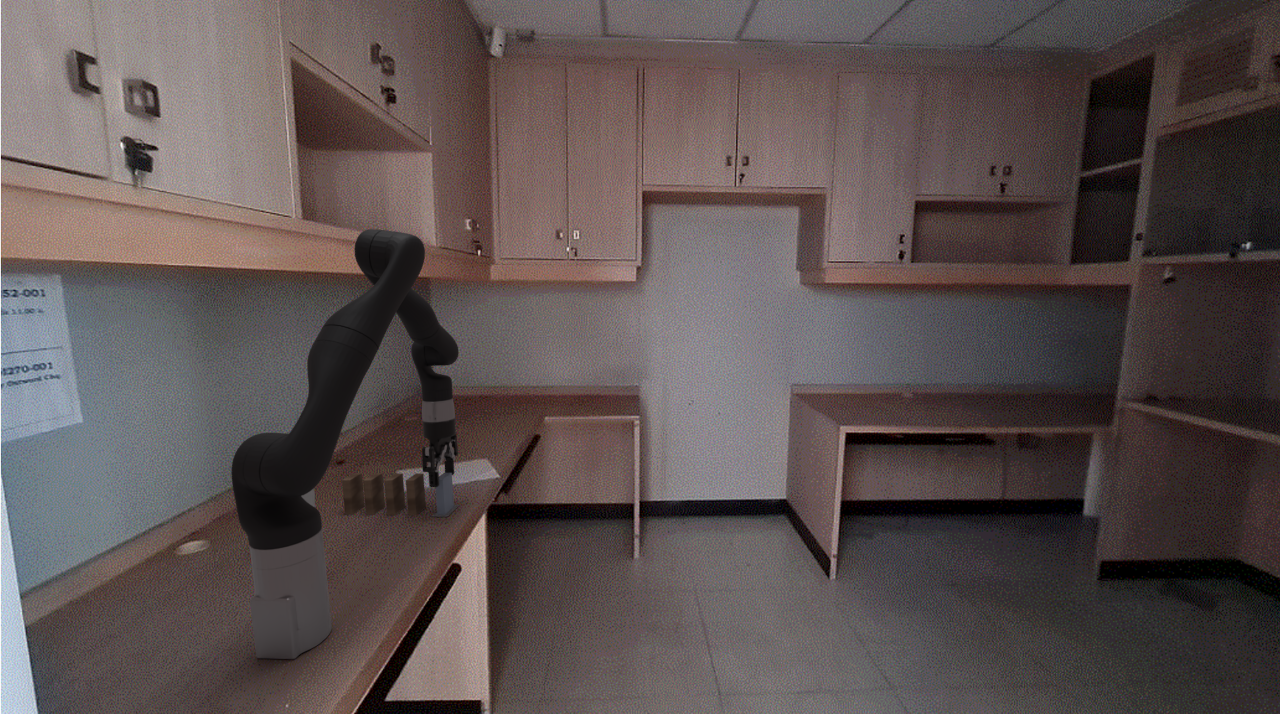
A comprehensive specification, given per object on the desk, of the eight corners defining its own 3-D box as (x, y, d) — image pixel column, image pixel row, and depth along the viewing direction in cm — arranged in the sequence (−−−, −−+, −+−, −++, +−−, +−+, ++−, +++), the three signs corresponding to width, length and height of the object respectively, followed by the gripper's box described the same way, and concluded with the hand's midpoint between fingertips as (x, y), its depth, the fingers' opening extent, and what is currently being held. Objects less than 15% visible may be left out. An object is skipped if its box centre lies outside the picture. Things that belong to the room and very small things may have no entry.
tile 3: (394, 515, 125) (392, 480, 124) (387, 514, 125) (384, 480, 124) (405, 506, 130) (402, 473, 129) (398, 506, 130) (395, 473, 129)
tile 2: (416, 515, 124) (413, 480, 123) (408, 515, 125) (405, 480, 124) (425, 506, 129) (423, 473, 128) (418, 506, 130) (415, 473, 129)
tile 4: (373, 514, 125) (370, 480, 124) (366, 514, 125) (363, 480, 124) (385, 506, 130) (382, 473, 129) (377, 506, 130) (374, 473, 129)
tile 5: (352, 514, 126) (349, 480, 125) (345, 514, 126) (341, 480, 125) (364, 506, 130) (361, 473, 129) (357, 506, 131) (354, 473, 130)
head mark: (447, 517, 123) (447, 516, 123) (431, 516, 123) (431, 516, 123) (459, 505, 130) (459, 504, 130) (444, 505, 130) (444, 504, 130)
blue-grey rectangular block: (445, 514, 124) (442, 479, 123) (437, 514, 124) (434, 479, 123) (453, 506, 129) (451, 472, 128) (446, 506, 129) (444, 472, 128)
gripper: (440, 424, 116) (444, 491, 118) (465, 411, 131) (468, 471, 132) (409, 424, 117) (413, 491, 119) (437, 411, 131) (440, 471, 133)
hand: (442, 480), depth 125 cm, fingers open, 8 cm apart
